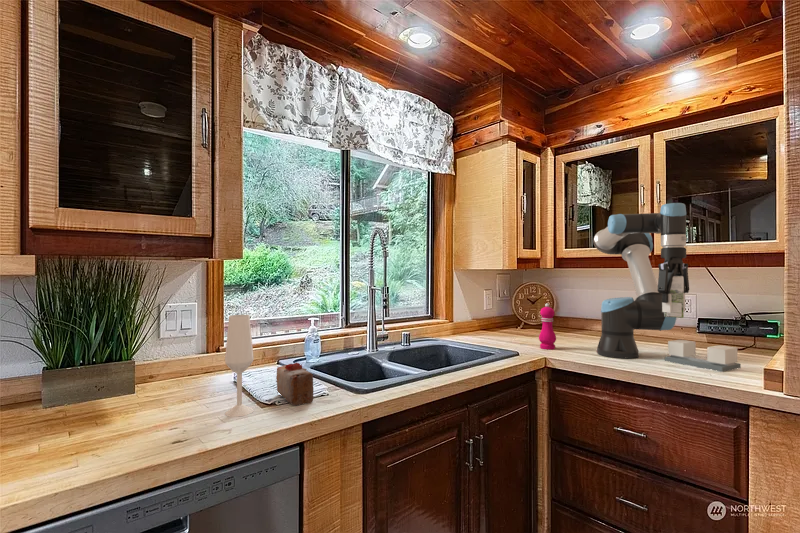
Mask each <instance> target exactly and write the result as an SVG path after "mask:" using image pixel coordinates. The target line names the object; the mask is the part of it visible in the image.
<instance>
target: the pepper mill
mask: <svg viewBox="0 0 800 533" xmlns="http://www.w3.org/2000/svg"><path fill="white" fill-rule="evenodd" d="M539 313H540V316H541V317H540V319H541V320H540V321H541V324H542V326H541V330H540V333H539V335H538V340H539V342H540V344H539V348H540V349H541V350H549V351H551V350H552V351H553V350H556V345H555V342H556V341H557V336H556V333H555V331H554V327H553V322H554V318H553V317H554V316H555V310H554V309H553V308H552V307H550V303H548V302H547V303H545V305H544V307H542V308H540V312H539Z"/></svg>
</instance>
